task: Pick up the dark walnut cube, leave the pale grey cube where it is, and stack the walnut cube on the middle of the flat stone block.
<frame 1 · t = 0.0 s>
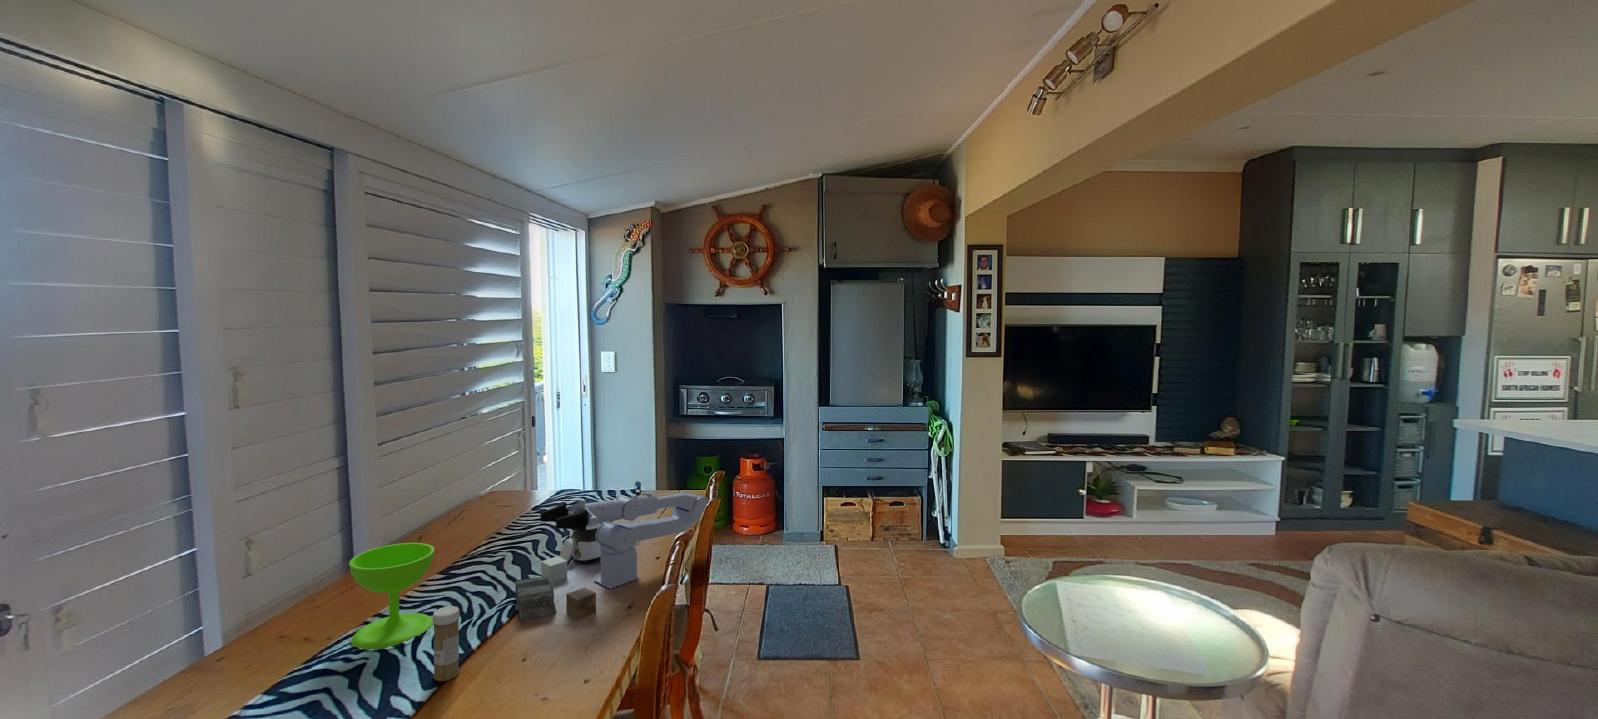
hand: (548, 520, 150), 22 cm above the table, tool horizontal, fingers open, 7 cm apart
grey cube: (554, 578, 167), on the table
wineglass: (394, 633, 136), on the table
walnut cube: (581, 613, 147), on the table
spread jar: (581, 561, 180), on the table
sprinkles bottle: (446, 676, 120), on the table
stone block: (536, 607, 151), on the table
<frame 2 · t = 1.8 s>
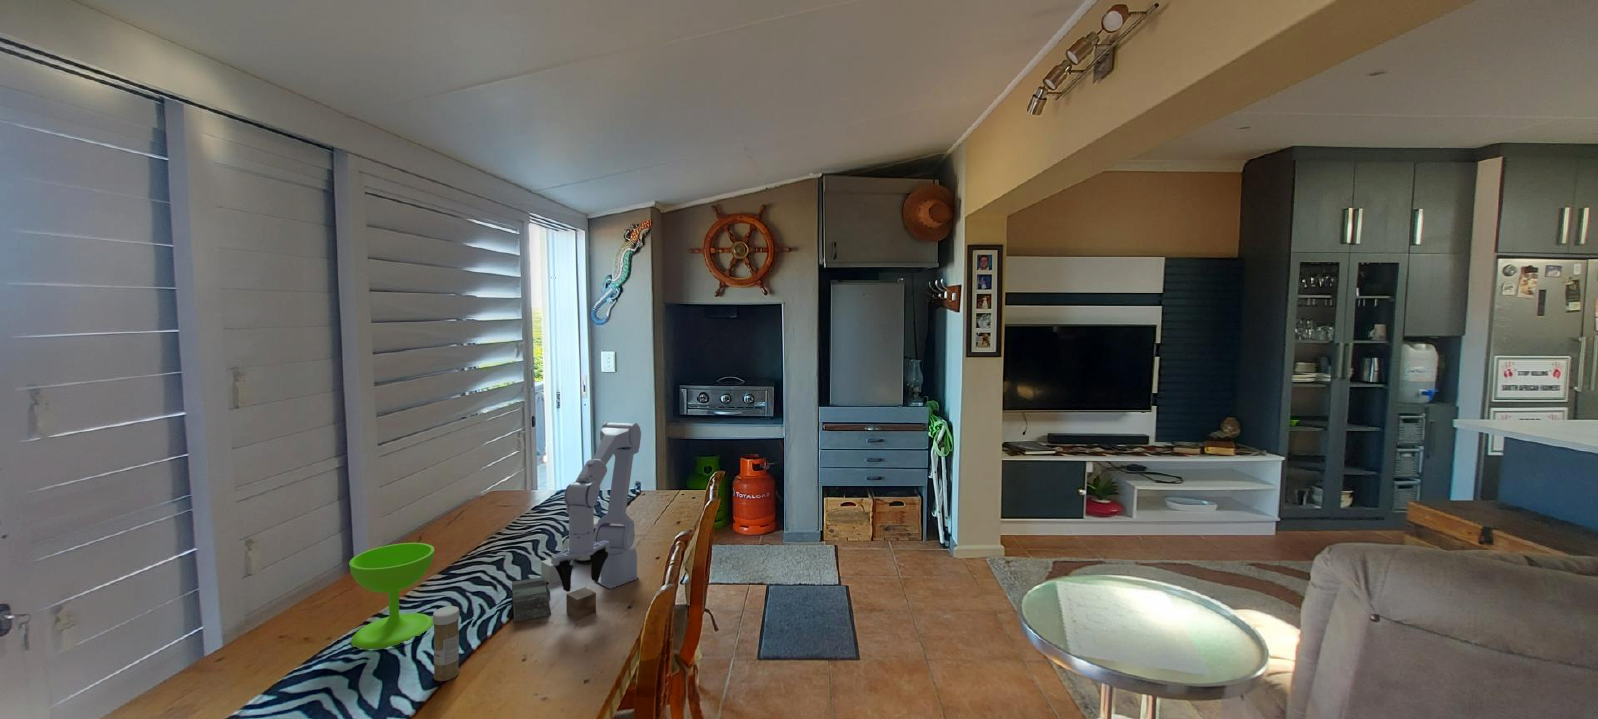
hand: (581, 585, 147), 7 cm above the table, tool pointing down, fingers open, 7 cm apart
stone block: (532, 608, 150), on the table
everything else where it was.
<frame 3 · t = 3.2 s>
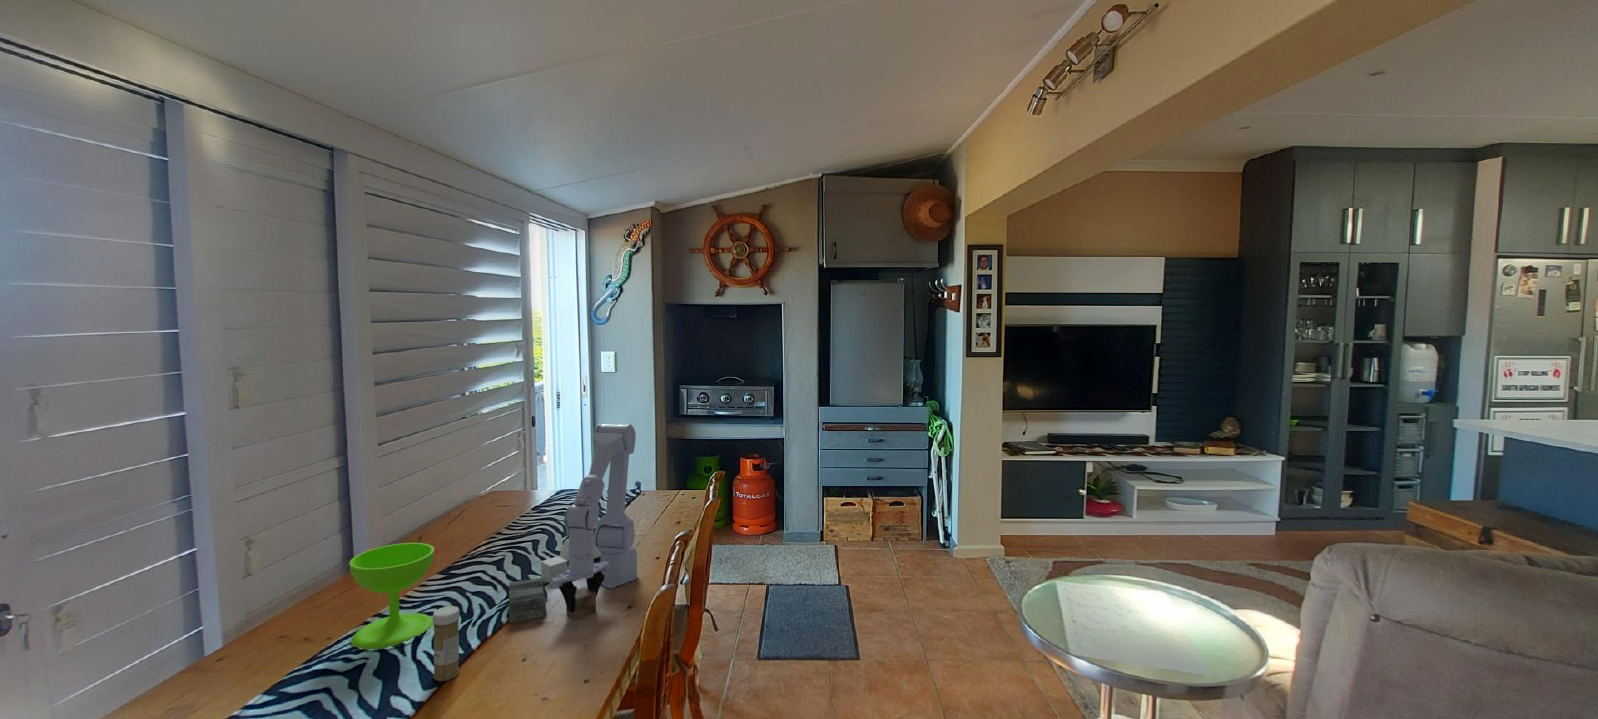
hand: (581, 607, 147), 1 cm above the table, tool pointing down, fingers closed on walnut cube, 5 cm apart
walnut cube: (581, 612, 147), on the table, touching gripper
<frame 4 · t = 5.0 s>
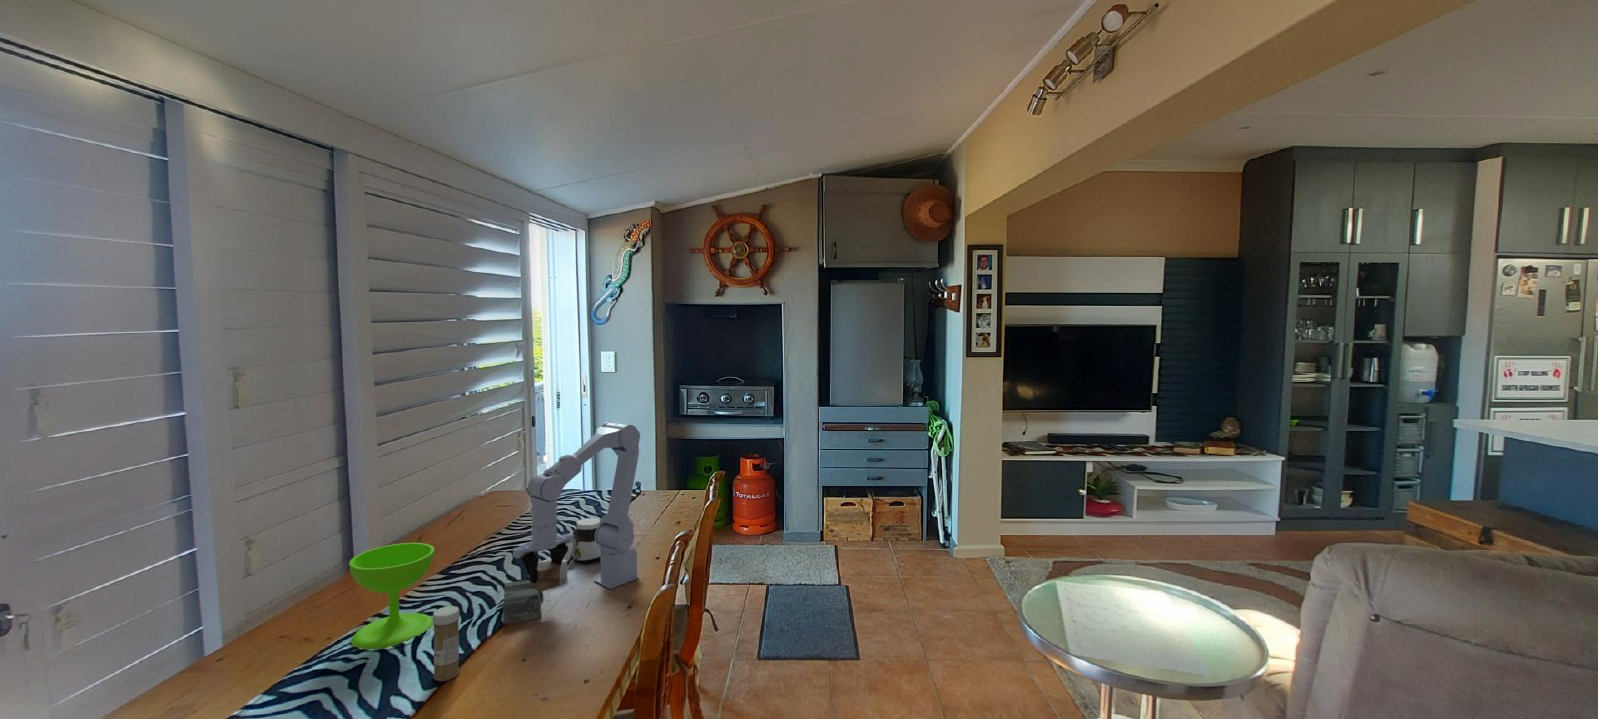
hand: (544, 578, 147), 8 cm above the table, tool pointing down, fingers closed on walnut cube, 5 cm apart
walnut cube: (544, 585, 147), point 7 cm above the table, touching gripper
stone block: (524, 610, 149), on the table
everything else where it was.
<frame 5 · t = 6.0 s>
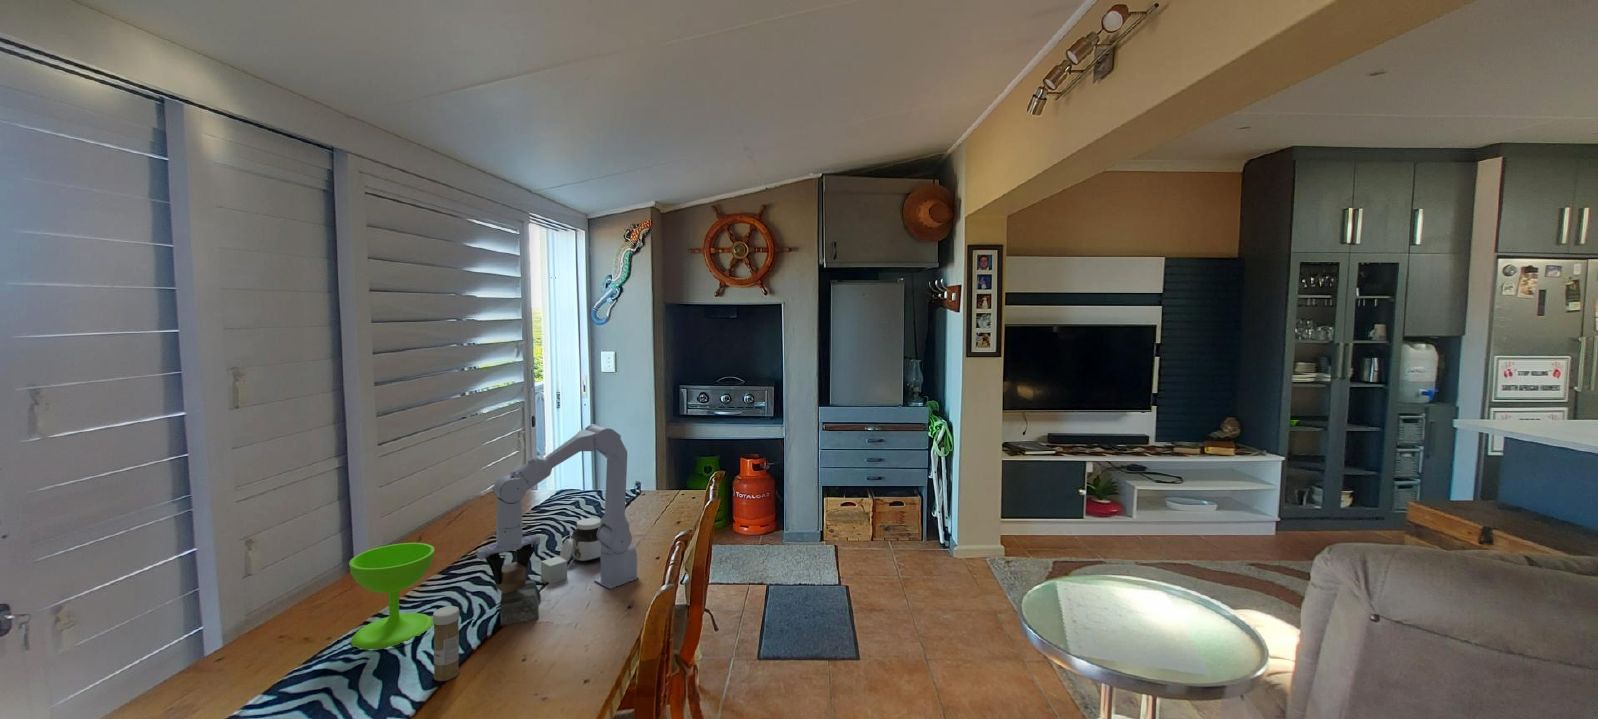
hand: (509, 579, 147), 8 cm above the table, tool pointing down, fingers closed on walnut cube, 5 cm apart
walnut cube: (510, 587, 147), point 6 cm above the table, touching gripper
when the fingers open (8 cm above the table, at t = 6.8 s): walnut cube drops 1 cm, resting on stone block.
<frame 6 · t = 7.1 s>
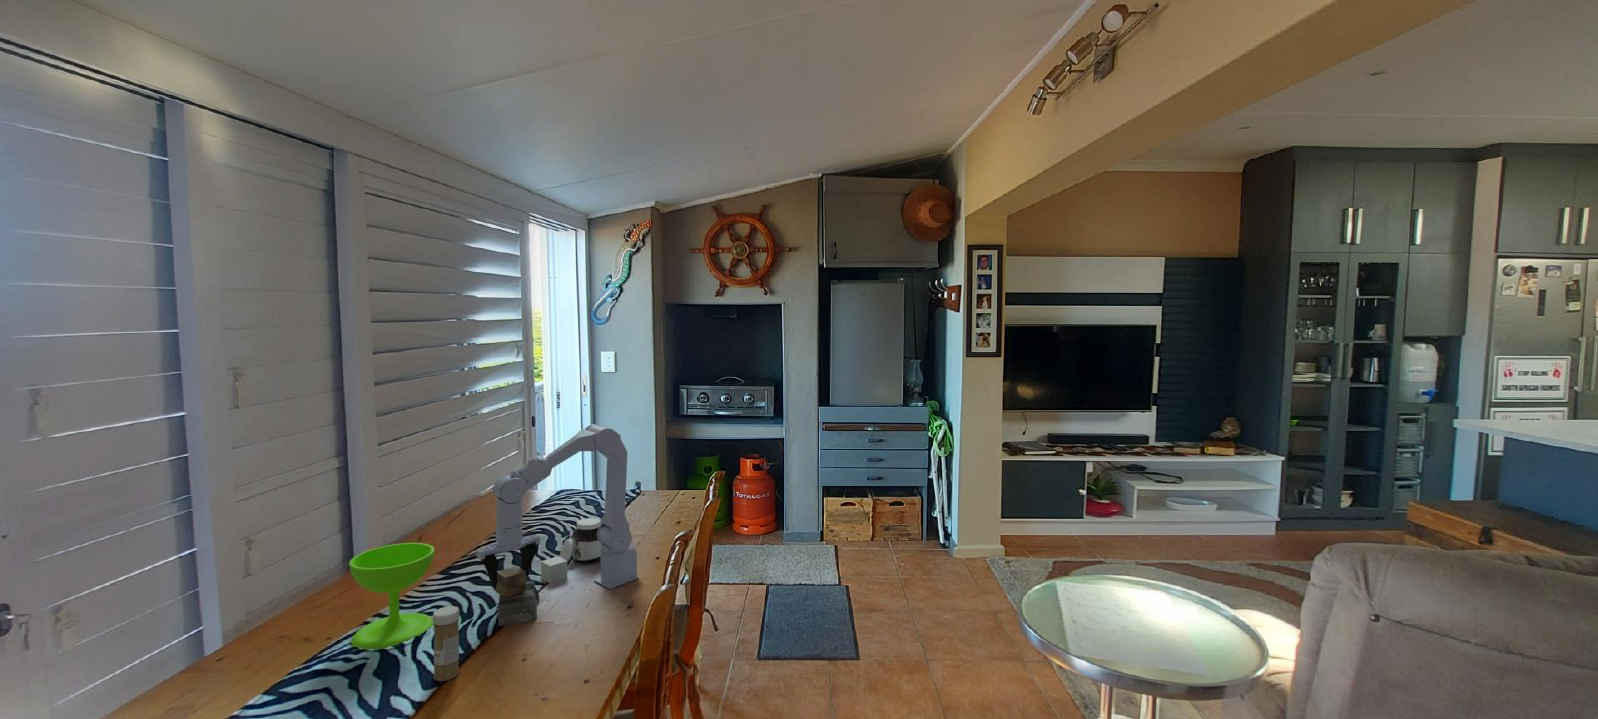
hand: (509, 579, 147), 8 cm above the table, tool pointing down, fingers open, 7 cm apart
walnut cube: (511, 591, 147), point 5 cm above the table, touching stone block
stone block: (519, 612, 148), on the table, touching walnut cube
everything else where it was.
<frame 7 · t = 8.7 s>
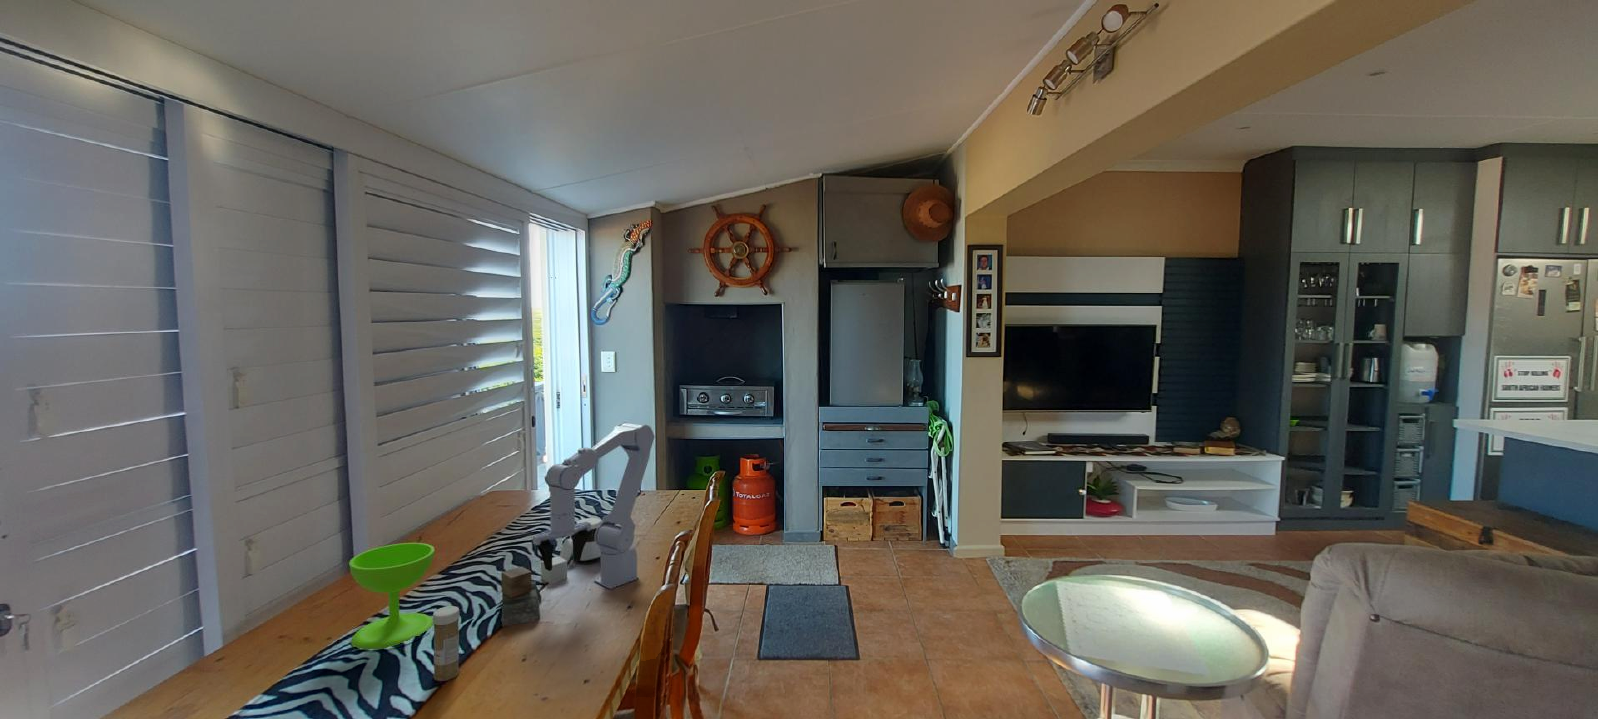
hand: (562, 564, 150), 10 cm above the table, tool pointing down, fingers open, 7 cm apart
walnut cube: (516, 591, 147), point 5 cm above the table, touching stone block
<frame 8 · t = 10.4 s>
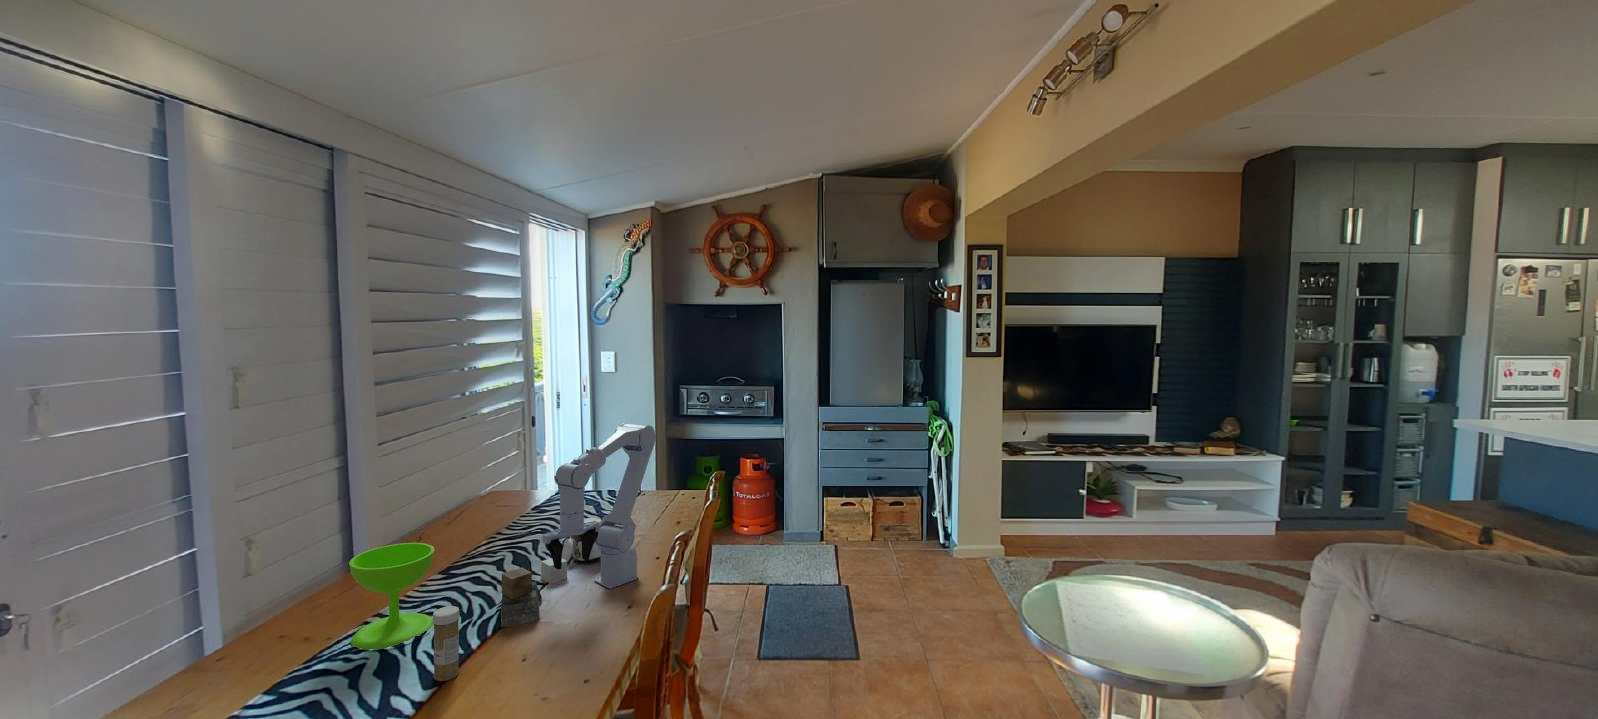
hand: (571, 563, 151), 10 cm above the table, tool pointing down, fingers open, 7 cm apart
at the end: walnut cube inside the target area on the stone block (1.2 cm from its centre), point 5.5 cm above the stone block's base; walnut cube tilted 0°; walnut cube touching stone block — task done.
